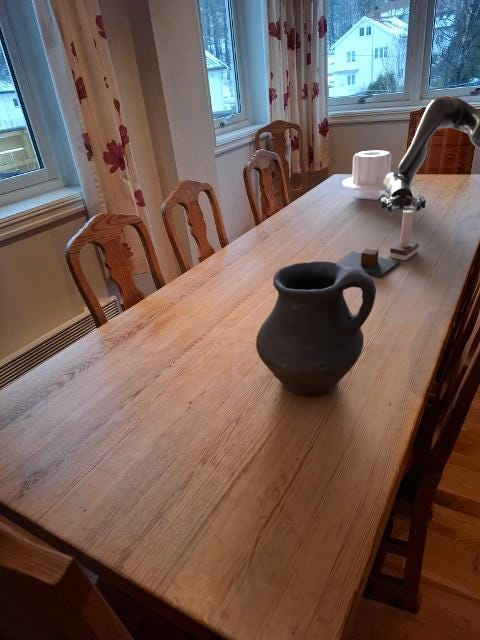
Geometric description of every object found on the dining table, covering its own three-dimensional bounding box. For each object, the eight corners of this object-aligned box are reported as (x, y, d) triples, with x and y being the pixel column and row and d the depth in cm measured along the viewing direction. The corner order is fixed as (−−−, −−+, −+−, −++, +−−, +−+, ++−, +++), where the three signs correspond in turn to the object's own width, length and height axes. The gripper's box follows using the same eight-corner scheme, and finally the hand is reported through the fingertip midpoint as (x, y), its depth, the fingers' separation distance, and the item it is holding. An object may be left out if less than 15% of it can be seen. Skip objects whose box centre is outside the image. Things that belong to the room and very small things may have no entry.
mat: (399, 263, 133) (399, 261, 132) (380, 277, 126) (380, 275, 125) (353, 253, 143) (353, 251, 142) (333, 265, 136) (333, 264, 135)
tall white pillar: (401, 249, 142) (406, 206, 135) (417, 252, 139) (422, 208, 132) (389, 257, 137) (393, 213, 130) (405, 260, 134) (410, 216, 127)
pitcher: (277, 345, 100) (271, 243, 87) (374, 358, 92) (383, 248, 79) (246, 402, 83) (233, 287, 71) (360, 424, 76) (369, 299, 63)
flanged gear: (404, 191, 203) (408, 148, 193) (388, 205, 185) (392, 159, 176) (353, 188, 216) (355, 148, 206) (333, 201, 198) (334, 158, 189)
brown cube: (377, 262, 134) (378, 250, 132) (373, 266, 131) (374, 254, 129) (365, 260, 136) (365, 248, 134) (360, 265, 133) (361, 252, 131)
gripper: (380, 185, 155) (382, 198, 141) (422, 184, 151) (429, 196, 138) (379, 206, 158) (380, 220, 145) (420, 205, 155) (426, 219, 142)
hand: (404, 208), depth 141 cm, fingers open, 8 cm apart
